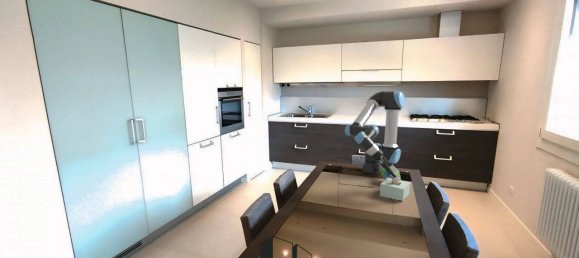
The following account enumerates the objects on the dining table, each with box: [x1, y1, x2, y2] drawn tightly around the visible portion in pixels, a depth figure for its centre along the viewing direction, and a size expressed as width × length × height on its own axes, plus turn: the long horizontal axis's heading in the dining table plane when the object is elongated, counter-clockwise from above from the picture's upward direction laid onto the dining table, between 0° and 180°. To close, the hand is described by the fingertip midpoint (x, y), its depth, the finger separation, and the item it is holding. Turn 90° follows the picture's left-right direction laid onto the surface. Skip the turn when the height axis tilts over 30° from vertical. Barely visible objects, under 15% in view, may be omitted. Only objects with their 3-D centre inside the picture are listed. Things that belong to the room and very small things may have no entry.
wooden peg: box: [392, 174, 399, 186], centre depth 164 cm, size 4×4×12 cm
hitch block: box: [379, 178, 411, 202], centre depth 164 cm, size 14×14×8 cm
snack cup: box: [380, 167, 402, 181], centre depth 184 cm, size 16×10×10 cm
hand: (398, 177), depth 162 cm, fingers open, 13 cm apart
